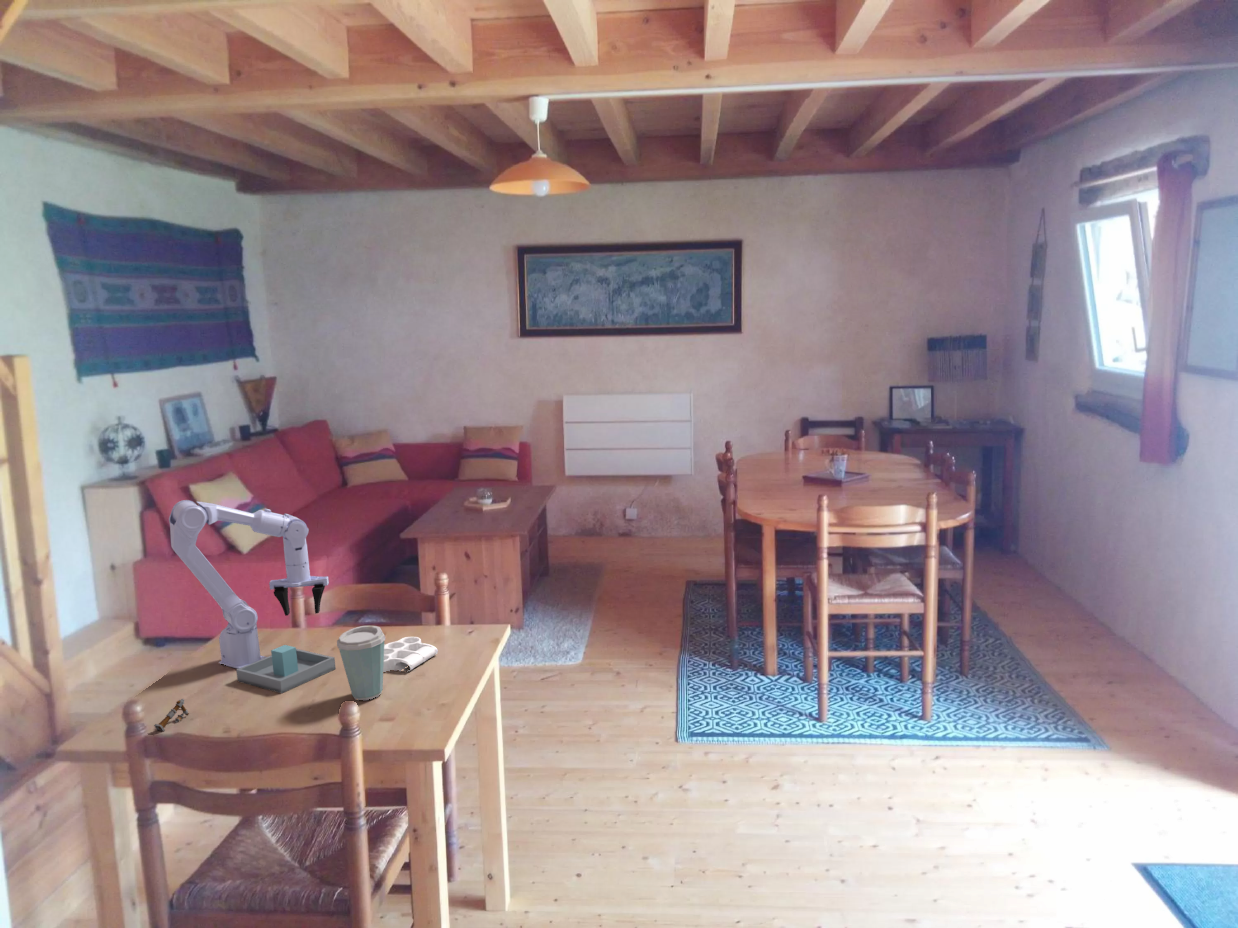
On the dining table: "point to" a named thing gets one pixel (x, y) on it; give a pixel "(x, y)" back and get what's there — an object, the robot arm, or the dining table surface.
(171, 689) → the dining table surface
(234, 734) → the dining table surface
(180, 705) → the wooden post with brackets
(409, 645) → the white muffin tin
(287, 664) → the block
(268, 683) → the tray
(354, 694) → the disposable coffee cup
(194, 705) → the dining table surface
